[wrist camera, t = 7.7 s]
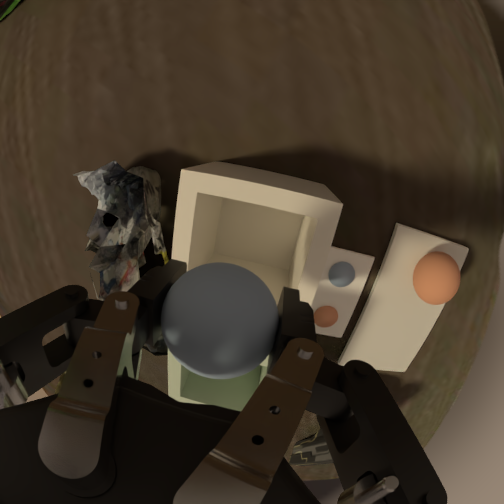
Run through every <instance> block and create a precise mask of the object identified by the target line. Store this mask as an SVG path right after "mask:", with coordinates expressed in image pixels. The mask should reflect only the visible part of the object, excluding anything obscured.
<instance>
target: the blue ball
mask: <svg viewBox="0 0 504 504" xmlns="http://www.w3.org/2000/svg"><path fill="white" fill-rule="evenodd" d="M278 327H279V313H278V308H277V305H276V301H275V299H274V297H273V295H272V293H271V291H270V290H269V288H268V287H267V285H266V284H265V283H264V282H263V281H262V280H261V279H260V278H259V277H258V276H257V275H255V274H254V273H253V272H251V271H249V270H247V269H245V268H243V267H241V266H238V265H235V264H230V263H223V262H215V263H208V264H203V265H200V266H197V267H195V268H193V269H191V270H189V271H187V272H186V273H185V274H183V275H182V276H181V277H180V278H179V279H178V280H177V281H176V282H175V283H174V284H173V285H172V287H171V288H170V290H169V291H168V293H167V295H166V297H165V300H164V303H163V306H162V312H161V329H162V334H163V337H164V340H165V343H166V345H167V347H168V349H169V350H170V352H171V353H172V355H173V356H174V358H175V359H176V360H177V361H178V362H179V363H180V364H181V365H183V366H184V367H185V368H187V369H188V370H190V371H191V372H193V373H195V374H197V375H200V376H203V377H207V378H212V379H230V378H235V377H239V376H242V375H244V374H246V373H248V372H250V371H252V370H253V369H255V368H256V367H257V366H259V365H260V364H261V363H262V362H263V361H264V360H265V359H266V358H267V356H268V355H269V353H270V352H271V350H272V348H273V346H274V343H275V340H276V336H277V332H278Z"/></svg>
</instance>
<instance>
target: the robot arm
mask: <svg viewBox="0 0 504 504" xmlns="http://www.w3.org/2000/svg"><path fill="white" fill-rule="evenodd" d="M186 272H187V263H186V262H183V261H179V260H175V259H170V260H169V261H168V262H167V263H166V264H165V265H164V266H163V267H161V266H157V267H154V268H152V269H150V270H149V271H147V272H146V273H145V274H144V275H143V276H142V277H141V278H140V280H138V281H137V282H136V283H135V284H134V285H133V286H132V287H131V288H130V289H129V290H128V291H127V292H125V291H119V292H114V293H111V294H110V295H108V296H107V297H106V299H105V301H102V300H94V299H88V292H87V290H86V289H85V288H84V287H82V286H79V285H68V286H65V287H63V288H60V289H58V290H56V291H54V292H52V293H50V294H48V295H46V296H44V297H42V298H39V299H37V300H35V301H33V302H31V303H29V304H27V305H25V306H23V307H21V308H19V309H17V310H15V311H13V312H11V313H9V314H7V315H5V316H4V317H2V318H0V504H321V503H320V502H319V501H318V500H317V499H316V497H315V496H314V495H313V494H312V493H311V491H310V490H309V489H308V488H307V487H306V485H305V484H304V483H303V481H302V480H301V479H300V478H299V476H298V475H297V474H296V472H295V471H294V470H293V468H292V467H291V466H290V464H289V463H288V462H287V460H286V459H285V458H284V455H285V453H286V451H287V449H288V447H289V445H290V442H291V440H292V438H293V436H294V434H295V432H296V429H297V427H298V425H299V423H300V420H301V418H302V416H303V414H304V411H305V410H307V411H310V412H312V413H315V414H316V416H317V420H318V422H319V425H320V428H321V430H322V433H323V436H324V438H325V441H326V444H327V446H328V449H329V452H330V454H331V457H332V460H333V462H334V465H335V468H336V470H337V473H338V476H339V478H340V481H341V484H342V487H343V489H344V492H342V494H341V495H340V497H339V498H338V502H337V504H447V494H446V491H445V489H444V487H443V485H442V483H441V481H440V479H439V477H438V476H437V474H436V472H435V470H434V468H433V466H432V465H431V463H430V461H429V459H428V457H427V455H426V454H425V452H424V450H423V448H422V446H421V445H420V443H419V441H418V439H417V438H416V436H415V434H414V432H413V431H412V429H411V427H410V426H409V424H408V422H407V420H406V419H405V417H404V415H403V414H402V412H401V410H400V409H399V407H398V405H397V404H396V402H395V400H394V399H393V397H392V395H391V394H390V392H389V391H388V389H387V387H386V386H385V384H384V382H383V381H382V379H381V378H380V376H379V374H378V373H377V371H376V370H375V368H374V367H373V366H371V365H370V364H368V363H367V362H364V361H361V360H350V361H348V362H347V363H346V364H345V365H344V366H341V365H339V364H336V363H334V362H331V361H329V360H328V359H326V358H325V357H324V351H323V349H322V348H321V346H320V345H318V344H317V340H316V331H315V324H314V323H315V322H314V313H313V309H312V308H311V306H310V305H309V303H307V302H303V301H300V293H299V290H298V289H293V288H289V287H283V289H282V292H281V295H280V299H279V302H278V305H277V308H278V313H279V327H278V332H277V336H276V340H275V343H274V346H273V348H272V350H271V352H270V353H269V357H268V365H267V373H266V375H265V377H264V378H263V380H262V381H261V383H260V384H259V386H258V387H257V389H256V390H255V392H254V393H253V395H252V396H251V398H250V399H249V401H248V402H247V404H246V405H245V407H244V408H243V410H242V411H237V410H233V409H228V408H224V407H220V406H216V405H208V404H195V403H184V402H179V401H177V400H175V399H173V398H172V397H170V396H168V395H166V394H165V393H163V392H161V391H160V390H158V389H157V388H155V387H153V386H152V385H149V384H147V383H144V382H141V381H139V380H138V376H139V369H140V363H141V356H142V347H143V346H144V344H148V345H151V346H154V345H155V343H156V342H157V340H158V338H159V337H160V335H161V334H162V329H161V312H162V306H163V303H164V300H165V297H166V295H167V293H168V291H169V290H170V288H171V287H172V285H173V284H174V283H175V282H176V281H177V280H178V279H179V278H180V277H181V276H182V275H183V274H185V273H186ZM62 324H63V328H64V332H65V334H63V335H61V336H60V337H58V338H56V339H55V340H53V341H51V342H50V343H48V344H46V345H45V346H42V339H43V337H44V336H45V335H46V334H47V333H48V332H50V331H52V330H54V329H55V328H57V327H59V326H61V325H62ZM65 371H66V374H65V377H64V380H63V382H62V385H61V388H60V391H59V393H58V394H55V395H51V396H48V397H44V398H42V399H37V400H34V401H30V402H27V403H26V401H27V398H28V397H29V396H31V395H32V394H34V393H35V392H36V391H38V390H39V389H41V388H42V387H44V386H45V385H47V384H48V383H49V382H51V381H52V380H54V379H55V378H57V377H58V376H60V375H61V374H63V373H64V372H65Z"/></svg>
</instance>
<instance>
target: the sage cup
mask: <svg viewBox="0 0 504 504" xmlns="http://www.w3.org/2000/svg"><path fill="white" fill-rule="evenodd" d="M268 357H269V355H268V356H267V358H266V359H265V360H264V361H263V362H262V363H261V364H260V365H259V366H257V367H256V368H255V369H253V370H252V371H250V372H248V373H246V374H244V375H242V376H239V377H235V378H230V379H212V378H207V377H203V376H200V375H197V374H195V373H193V372H191V371H190V370H188V369H187V368H185V367H184V366H183V365H181V364H180V363H179V362H178V361H177V360H176V359H175V358H174V356H173V355H172V353H171V352H170V350H169V349H168V393H169V396H170V397H172V398H173V399H175V400H177V401H179V402H184V403H195V404H208V405H216V406H220V407H224V408H228V409H233V410H237V411H242V410H243V408H244V407H245V405H246V404H247V402H248V401H249V399H250V398H251V396H252V395H253V393H254V392H255V390H256V389H257V387H258V386H259V384H260V383H261V381H262V380H263V378H264V377H265V375H266V373H267V365H268Z"/></svg>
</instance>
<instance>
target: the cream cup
mask: <svg viewBox="0 0 504 504" xmlns="http://www.w3.org/2000/svg"><path fill="white" fill-rule="evenodd" d="M342 207H343V203H342V202H341V201H340V200H339V199H338V198H337V197H336V196H335V195H334V194H333V193H332V192H331V191H330V190H329V189H328V188H327V187H326V186H325V185H324V184H321V183H317V182H313V181H309V180H305V179H301V178H297V177H293V176H288V175H284V174H279V173H275V172H270V171H266V170H261V169H256V168H251V167H246V166H241V165H236V164H230V163H225V162H219V161H216V162H211V163H206V164H202V165H197V166H193V167H189V168H184V169H181V175H180V182H179V189H178V197H177V206H176V215H175V224H174V234H173V245H172V258H171V259H175V260H179V261H183V262H186V263H187V271H189V270H191V269H193V268H195V267H197V266H200V265H203V264H208V263H215V262H223V263H230V264H235V265H238V266H241V267H243V268H245V269H247V270H249V271H251V272H253V273H254V274H255V275H257V276H258V277H259V278H260V279H261V280H262V281H263V282H264V283H265V284H266V285H267V287H268V288H269V290H270V291H271V293H272V295H273V297H274V299H275V301H276V305H278V302H279V299H280V295H281V292H282V289H283V287H289V288H293V289H298V290H299V293H300V301H303V302H307V303H309V305H310V306H311V305H312V302H313V299H314V296H315V293H316V290H317V288H318V285H319V282H320V279H321V276H322V273H323V270H324V267H325V264H326V260H327V257H328V254H329V251H330V248H331V244H332V241H333V238H334V235H335V231H336V228H337V224H338V221H339V217H340V214H341V210H342Z"/></svg>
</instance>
